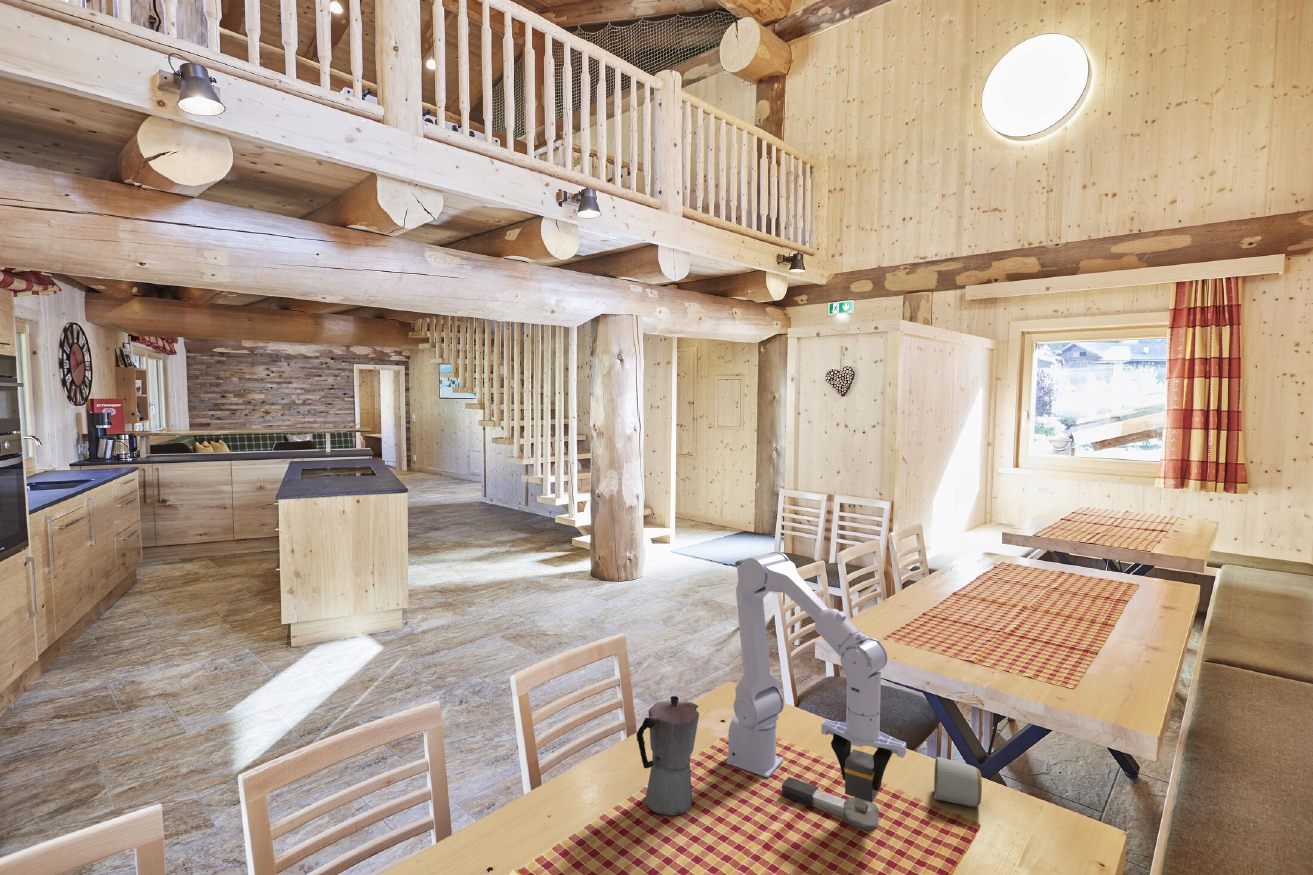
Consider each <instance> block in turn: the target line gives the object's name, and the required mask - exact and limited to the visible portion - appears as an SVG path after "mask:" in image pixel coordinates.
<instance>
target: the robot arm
mask: <svg viewBox="0 0 1313 875" xmlns="http://www.w3.org/2000/svg"><path fill="white" fill-rule="evenodd" d="M736 571H737V579H738V580H737V585H736V588H735V594H736V596H735V597H736V605H737V614H738V615H737V616H738V626H739V629H738V630H739V637H740V648H741V658H742V659H741V660H742V669H743V670H742V671H743V675H742V676H741V679H740V680H739V682H738V684H736V687H735V698H734V702H733V711H734V716H733V717H732V719H731V721H730V723H729V727H728V740H727V741H728V749H727V751H728V752H727V753H728V754H727V759H726V764H729V765H730V766H734V767H736V768H739V769H742V770H745V771H748V772H749V773H750V772H751V773H753V774H757V775H759V776H761V777H764V778H769V777H770V776H771V775H772V774H773V773H774V771H775V770H777V768H778V767H779V766H780V765H781V764H782V763H783V761H784V758H783V757H782V756H778V755H777V721H778V720H779V714H781V712H783V711H784V707H785V700H784V696H783V693H782V691H781V689H780V684H779V683H780V682H779V679H778V678H777V677H776V676H773V674H771V669H770V668H771V667H770V657H769V656H770V655H769V647H768V636H767V635H768V634H767V626H766V614H765V605H764V604H765V603H764V598H765V597H766V596H767V595H768V594H769V593H770V592H772V593H782V594H785V595H786V596H788V598H789V599H791V600H792V601H793V602H794V603H795V604H796V605H797V606H798V607H799V608H800V609H801V610H802V611H804V612H805V614H807V615H808V616H809V617H810V618H812V620H814V630H815V631H816V632H817V634H818V635H819V636H820V637H821V638H822V639H823V640H824V641H825V642H826V643H827V645H829V646H830V648H832V650H833V651H834V652H835V653H836V655H838V656H839V657H840V659H839V660H840V665H841V667H842V669H843V671H844V673H845V678H846V679H845V681H846V709H845V710H846V711H845V712H846V717H845V722H842V721H835V720H830V719H824V720H823V721H822V723H821V729H820V732H821V734H822V735H825V736H827V735H830V736H832V740H831V742H830V745H831V746H830V747H831V748H832V750H833V752H834V755H835V756H836V759H837V762H838V764H839V767H840V771H841V777H842V780H843V781H845V772H844V768H845V760H846V759H847V758H848V756H849V755H850V753H851V752H852V751H851V750H852V746H856V747H859V748H863V747H864V746H867V747H871V748H875V749H876V750H875V752H874V754H872V755H873V761H874V790H875V791H878V790H879V791H880V790H881V787H882V781H883V777H884V773H885V770H886V768H887V765H888V763H889V761H890V759H891V757H892V755H893V754H895V755H896V756H897V757H899V758H904V757H905V756H906V754H907V742H905V741H902V740H900V739H897V738H895V737H893V736H890V735H889V734H886V733H885V732H882V731H880V729H881V728H880V725H881V689H882V688H881V686H882V681H881V680H882V679H881V678H882V676H881V675H882V673H881V671H882V670H883V669H885V667H886V665H887V663H888V653H887V651H886V649H885V647H884V646H883V645H882V643H881V642H880V640H878V639H876V638H874V637H869V636H867V635H866V634H864V633H863V632H861V631H860V630H859V629H858V628H857V627H856V626H855V625H854V624H853V623H852V622H851V621H850V620H849V619H848V618H847V617H848V616H847V614H846V613H844V611H842V610H841V611H840V610H839V609H837V608H829V607H827V605H826V604H825V603H824V602H823V601H822V600H821V598H820V597H819V596H818V595H817V593H815V591H813V589H812V588H811V587H810V586H809V585H808V583H806V581H805V580H804V579H803V578H802V576H801V575H800V574H799V573H798V572H797V568H796V564H795V563H794V562H793V561H791V560H790V559H789V557H788V556H787V555H786V554H785V553H782V552H780V551H775V552H774V551H773V552H772V553H769V554H765V555H760V556H756V557H748V558H746V559H744V560H743V561H742V562H741V564H739V565H738V566H737V570H736ZM879 791H878V792H879Z"/></svg>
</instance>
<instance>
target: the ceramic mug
mask: <svg viewBox="0 0 1313 875" xmlns="http://www.w3.org/2000/svg"><path fill="white" fill-rule="evenodd" d="M934 762H935V763H934V780H933V792H934V794H933V795H934V799H935V800H937V801H942V802H947V803H952V804H958V805H962V806H966V807H973V808H975V807H979V806H980V805H981V801H982V795H983V792H982V791H983V790H982V789H983V787H982V786H983V784H982V783H983V782H982V781H983V779H982V773H981V771H980V769H979V768H977V767H975V766H973V765H970V764H967V763H965V762H958V761H956V760H951V759H948V758H945V757H940V756H936V758H935V761H934Z"/></svg>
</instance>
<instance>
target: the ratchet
mask: <svg viewBox="0 0 1313 875" xmlns="http://www.w3.org/2000/svg"><path fill="white" fill-rule="evenodd" d="M781 796H782V797H784V798H787V799H790V800H792V801H795V802H798V803H800V804H803V805H806V806H808V807H811V808H817V809H819V810H822V811H825V812H826V813H830V814H833V815H836V816H839V817H841V818H843V819H844V822H846V824H848V826H850V827H852V828H854V829H856V830H861V831H871V830H874V829H876V828H878V826H879V816H880V814H879V812H880V810H879V808H878V806H877V804H876V803H874V801H873V802H872V803H871V802H868V801H865V800H862V799H859V798H856V797H853V796H851V797H849V798H847V799H845V798H841V797H839V796H836V795H834V794H831V793H828V792H825V791H822V790H819V787H818V786H816V785H814V784H811V783H808V782H805V781H802V780H799V779H796V778H793V777H790V776H788V777H787V778H786V779H785V781H783V783H782V784H781Z"/></svg>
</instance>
